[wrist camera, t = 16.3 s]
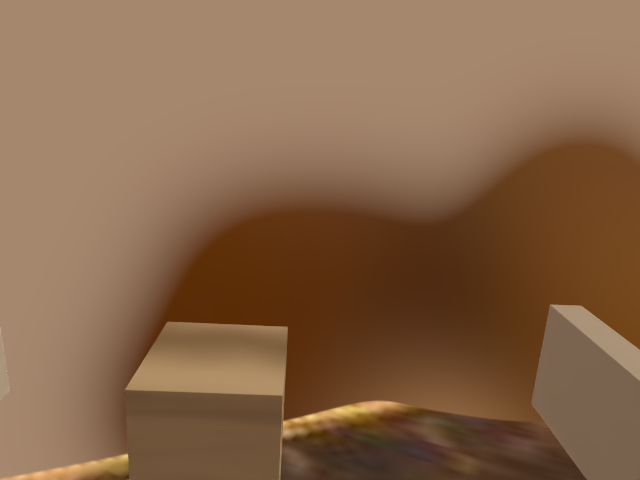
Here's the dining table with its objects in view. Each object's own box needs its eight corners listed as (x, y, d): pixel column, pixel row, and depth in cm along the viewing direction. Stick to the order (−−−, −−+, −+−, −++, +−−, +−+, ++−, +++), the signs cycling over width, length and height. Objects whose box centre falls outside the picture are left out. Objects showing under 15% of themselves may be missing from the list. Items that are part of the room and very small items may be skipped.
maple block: (271, 627, 22) (282, 395, 19) (136, 625, 22) (124, 389, 18) (278, 518, 28) (287, 327, 25) (172, 515, 27) (167, 321, 24)
